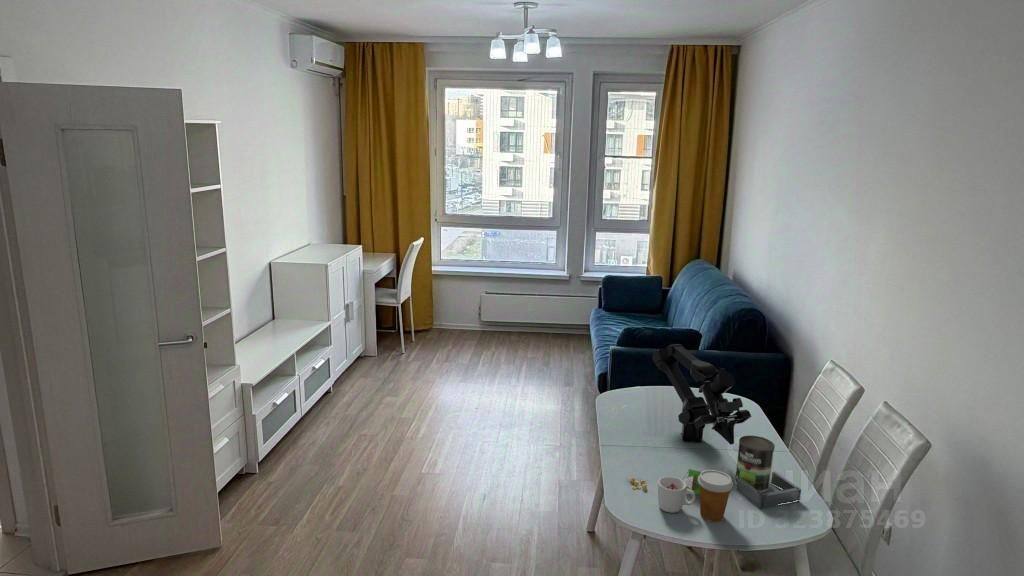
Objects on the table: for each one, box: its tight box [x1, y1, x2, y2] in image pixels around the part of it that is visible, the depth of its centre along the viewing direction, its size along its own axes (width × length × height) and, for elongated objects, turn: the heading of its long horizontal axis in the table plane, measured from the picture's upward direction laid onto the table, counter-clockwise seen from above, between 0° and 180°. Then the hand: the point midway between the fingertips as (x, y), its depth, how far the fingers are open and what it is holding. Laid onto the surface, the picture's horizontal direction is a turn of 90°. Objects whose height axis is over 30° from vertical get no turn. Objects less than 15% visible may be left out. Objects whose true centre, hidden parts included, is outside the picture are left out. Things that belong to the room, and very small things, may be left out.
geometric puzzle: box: [682, 468, 702, 496], centre depth 202 cm, size 7×7×8 cm
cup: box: [657, 476, 697, 514], centre depth 191 cm, size 11×8×8 cm
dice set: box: [630, 476, 648, 492], centre depth 205 cm, size 5×5×2 cm
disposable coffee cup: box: [698, 469, 734, 523], centre depth 188 cm, size 10×10×12 cm
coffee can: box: [734, 435, 776, 493], centre depth 206 cm, size 10×10×14 cm
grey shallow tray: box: [735, 471, 802, 510], centre depth 200 cm, size 11×14×4 cm
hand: (732, 444), depth 215 cm, fingers closed
